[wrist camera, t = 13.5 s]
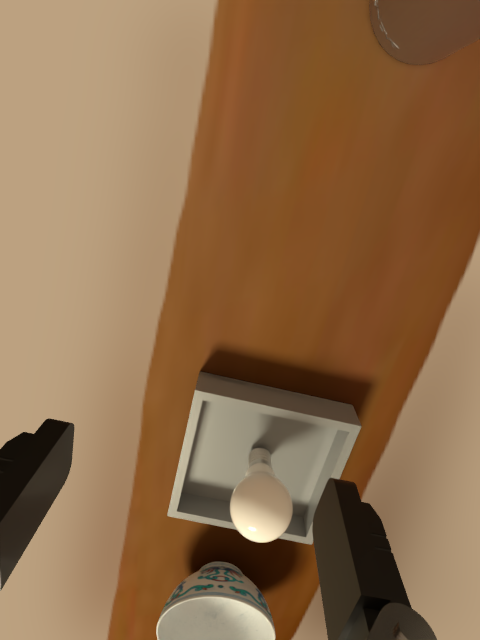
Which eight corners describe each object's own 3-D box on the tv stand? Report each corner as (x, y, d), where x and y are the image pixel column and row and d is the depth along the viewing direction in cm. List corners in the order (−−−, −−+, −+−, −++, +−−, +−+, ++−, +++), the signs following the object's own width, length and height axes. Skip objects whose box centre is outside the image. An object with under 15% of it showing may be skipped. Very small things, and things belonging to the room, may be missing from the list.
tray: (199, 371, 45) (195, 390, 41) (352, 404, 46) (361, 426, 42) (173, 490, 51) (167, 515, 48) (307, 517, 52) (311, 544, 49)
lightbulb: (231, 471, 49) (226, 555, 38) (234, 429, 46) (230, 507, 36) (282, 475, 49) (291, 560, 38) (289, 433, 46) (300, 512, 36)
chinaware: (152, 590, 58) (138, 650, 51) (195, 524, 53) (185, 580, 46) (242, 623, 61) (241, 685, 53) (291, 563, 56) (297, 622, 48)
